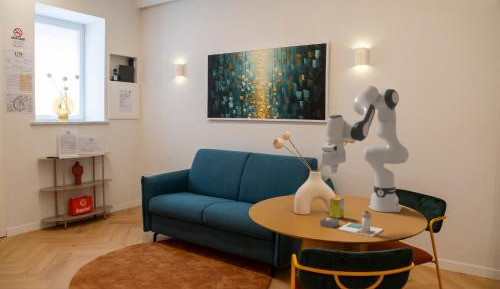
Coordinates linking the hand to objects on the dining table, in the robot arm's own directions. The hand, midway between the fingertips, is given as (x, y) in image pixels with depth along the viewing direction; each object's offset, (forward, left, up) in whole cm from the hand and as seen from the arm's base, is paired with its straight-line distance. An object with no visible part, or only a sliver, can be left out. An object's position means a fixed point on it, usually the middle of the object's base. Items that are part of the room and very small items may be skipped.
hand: (334, 172), depth 208 cm
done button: (+4, 0, -27) cm, 27 cm away
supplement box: (-12, -4, -27) cm, 30 cm away
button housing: (+4, 0, -27) cm, 27 cm away
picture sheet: (+2, +16, -27) cm, 32 cm away
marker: (+5, +20, -26) cm, 33 cm away
